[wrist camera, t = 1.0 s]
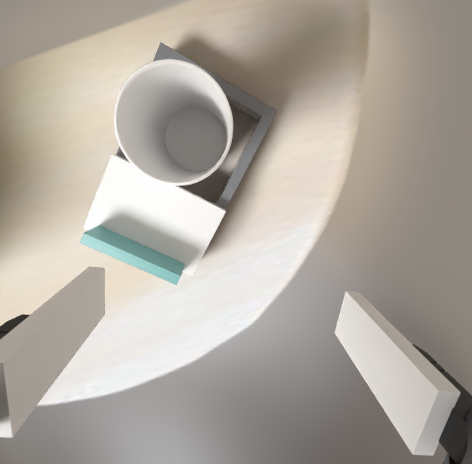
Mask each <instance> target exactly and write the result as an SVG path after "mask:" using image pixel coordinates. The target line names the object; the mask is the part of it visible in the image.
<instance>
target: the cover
mask: <svg viewBox="0 0 472 464" xmlns="http://www.w3.org/2000/svg"><path fill="white" fill-rule="evenodd" d="M225 212H226V210H225V209H223V208H221V207H219V206H217V205H215V204H213V203H211V202H209V201H207V200H205V199H203V198H201V197H199V196H197V195H195V194H194V193H192V192H190V191H188V190H186V189H184V188H182V187H180V186H178V185H167V184H163V183H159V182H156V181H154V180H152V179H150V178H148V177H146V176H145V175H143V174H142V173H141V172H139V171H138V170H137V169H136V168H135V167H134V166H133V165H132V164H131V163H130V162H129V161H128V160H126V159H124V158H122V157H120V156H118V155H116V154H112V155H111V158H110V160H109V163H108V165H107V168H106V170H105V173H104V175H103V178H102V181H101V183H100V186H99V188H98V191H97V193H96V196H95V198H94V201H93V204H92V206H91V209H90V211H89V214H88V216H87V219H86V222H85V224H84V227H83V228H84V229H86V230H88V231H87V232H85V233H84V234H83V236H82V239H81V242H80V243H81V244H84V245H86V246H88V247H91V248H93V249H95V250H97V251H100V252H102V253H104V254H107V255H109V256H111V257H114V258H116V259H118V260H120V261H123V262H125V263H127V264H130V265H132V266H134V267H137V268H139V269H141V270H143V271H146V272H148V273H150V274H153V275H155V276H157V277H159V278H162V279H164V280H166V281H169V282H171V283H173V284H177V282H178V280H179V279H180V277H181V274H182V273H185V274H187V275H189V276H191V277H192V276H193V274H194V272H195V270H196V268H197V266H198V264H199V262H200V260H201V258H202V257H203V255H204V253H205V251H206V249H207V247H208V245H209V243H210V241H211V239H212V237H213V235H214V233H215V231H216V230H217V228H218V226H219V224H220V222H221V220H222V218H223V216H224V214H225Z"/></svg>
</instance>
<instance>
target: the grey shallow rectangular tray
mask: <svg viewBox="0 0 472 464" xmlns="http://www.w3.org/2000/svg"><path fill="white" fill-rule="evenodd" d="M163 59H176V60H182V61H186V62H189V63H191V64H194V65H196V66H198V67H200V68H201V69H203V70H204V71H205V72H207V73H208V74H209V75H210V76H211V77H212V78H213V79H214V80H215V81H216V82H217V83H218V84H219V86H220V87H221V89H222V90H223V92H224V94H225V95H226V98H227V100H228V102H229V104H231V105H233V106H235V107H236V108H238V109H240V110H241V111H243V112H245V113H247V114H248V115H250V116H252V117H254V118H255V119H257V120H258V121H257V123H256V125H255V127H254V129H253V131H252V133H251V135H250V137H249V139H248V141H247V143H246V145H245V147H244V149H243V151H242V153H241V155H240V157H239V159H238V161H237V163H236V165H235V167H234V169H233V171H232V173H231V175H230V177H229V179H228V181H227V183H226V185H225V187H224V189H223V191H222V193H221V195H220V197H219V199H218V201H217V203H216V205H217V206H219V207H221V208H223V209H225V210H226V208H227V206H228V204H229V202H230V200H231V198H232V196H233V194H234V192H235V191H236V189H237V187H238V185H239V183H240V181H241V179H242V177H243V175H244V173H245V171H246V169H247V167H248V165H249V163H250V162H251V160H252V158H253V156H254V154H255V152H256V150H257V148H258V146H259V144H260V142H261V140H262V138H263V136H264V135H265V133H266V131H267V129H268V127H269V125H270V123H271V121H272V119H273V117H274V115H275V113H276V110H274V109H272V108H271V107H269V106H267V105H266V104H264V103H262V102H261V101H259V100H257V99H256V98H254V97H252V96H251V95H249V94H247V93H245V92H244V91H242V90H240V89H239V88H237V87H235V86H234V85H232V84H230V83H229V82H227V81H225V80H224V79H222V78H220V77H219V76H217V75H215V74H213V73H212V72H210V71H208V70H207V69H205V68H203V67H202V66H200V65H198V64H197V63H195V62H193V61H192V60H190V59H188V58H187V57H185V56H183V55H181V54H180V53H178V52H176V51H175V50H173V49H171V48H170V47H168V46H166V45H165V44H163V43H160V45H159V48H158V50H157V53H156V55H155V58H154V60H153V61H157V60H163ZM116 155H118V156H120V157H122V158H124V159H126V160H128V159H127V158H126V156H125V155H124V153H123V151H122V150H121V147H119V149H118V152H117V154H116Z"/></svg>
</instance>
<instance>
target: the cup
mask: <svg viewBox="0 0 472 464" xmlns="http://www.w3.org/2000/svg"><path fill="white" fill-rule="evenodd" d="M114 128H115V133H116V137H117V140H118V143H119V145H120V147H121V150H122V151H123V153H124V155H125V156H126V158H127V159H128V161H129V162H130V163H131V164H132V165H133V166H134V167H135V168H136V169H137V170H138V171H139V172H141V173H142V174H143V175H145V176H146V177H148V178H150V179H152V180H154V181H156V182H159V183H163V184H167V185H178V186H180V185H189V184H193V183H196V182H199V181H201V180H203V179H205V178H207V177H208V176H210V175H211V174H212V173H213V172H215V171H216V170H217V169H218V167H219V166H220V165H221V164H222V162H223V161H224V159H225V158H226V156H227V154H228V151H229V149H230V146H231V142H232V138H233V117H232V112H231V108H230V105H229V102H228V100H227V98H226V95H225V94H224V92H223V90H222V89H221V87H220V86H219V84H218V83H217V82H216V81H215V80H214V79H213V78H212V77H211V76H210V75H209V74H208V73H207V72H205V71H204V70H203V69H201V68H200V67H198V66H196V65H194V64H191V63H189V62H186V61H182V60H176V59H163V60H157V61H153V62H150V63H148V64H146V65H144V66H142V67H140V68H139V69H137V70H136V71H135V72H134V73H133V74H131V75H130V77H129V78H128V79H127V80H126V81H125V83H124V84H123V86H122V88H121V89H120V92H119V94H118V96H117V100H116V103H115V108H114Z"/></svg>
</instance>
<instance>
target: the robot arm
mask: <svg viewBox="0 0 472 464" xmlns="http://www.w3.org/2000/svg"><path fill="white" fill-rule="evenodd" d="M104 315H105V268H98V267H88V268H87V269H86V270H85V271H83V272H82V273H81V274H80V275H79V276H77V277H76V278H75V279H74V280H72V281H71V282H70V283H69V284H68V285H66V286H65V287H64V288H63V289H61V290H60V291H59V292H58V293H57V294H55V295H54V296H53V297H52V298H50V299H49V300H48V301H47V302H46V303H44V304H43V305H42V306H41V307H39V308H38V309H37V310H36V311H35V312H33V313H32V314H31V315H23V314H22V315H20V316H18V317H16V318H14V319H11V320H9V321H7V322H6V323H4V324H3V325H2V326H0V437H13V436H14V435H15V433H16V432H17V431H18V429H19V428H20V427H21V425H22V424H23V423H24V421H25V420H26V419H27V417H28V416H29V415H30V413H31V412H32V411H33V409H34V408H35V407H36V405H37V404H38V403H39V401H40V400H41V399H42V397H43V396H44V395H45V393H46V392H47V391H48V389H49V388H50V387H51V385H52V384H53V383H54V381H55V380H56V379H57V377H58V376H59V375H60V373H61V372H62V371H63V369H64V368H65V367H66V365H67V364H68V363H69V361H70V360H71V359H72V357H73V356H74V355H75V353H76V352H77V351H78V349H79V348H80V347H81V345H82V344H83V343H84V341H85V340H86V339H87V337H88V336H89V335H90V333H91V332H92V331H93V329H94V328H95V327H96V325H97V324H98V323H99V321H100V320H101V319H102V317H103V316H104ZM335 334H336V336H337V337H338V339H339V340H340V342H341V343H342V345H343V347H344V348H345V350H346V351H347V353H348V354H349V356H350V358H351V359H352V361H353V362H354V364H355V365H356V367H357V368H358V370H359V371H360V373H361V374H362V376H363V378H364V379H365V381H366V382H367V384H368V385H369V387H370V389H371V390H372V392H373V393H374V395H375V396H376V398H377V400H378V401H379V403H380V404H381V406H382V407H383V409H384V411H385V412H386V414H387V415H388V417H389V418H390V420H391V421H392V423H393V425H394V426H395V428H396V429H397V431H398V432H399V434H400V435H401V437H402V438H403V440H404V442H405V443H406V445H407V446H408V448H409V449H410V451H411V453H412V454H413V455H434V453H435V450H436V448H437V446H438V443H439V442H440V443H441V445H442V446H443V447H444V449H445V450H446V451H447V452H448V453H447V455H446V458H445V460H444V462H443V464H472V396H471V395H470V394H469V393H468V392H467V391H466V390H465V389H464V388H463V387H462V386H461V385H460V384H459V383H458V382H457V381H456V380H455V379H454V378H453V377H451V376H450V375H449V374H448V373H447V372H445V370H444V369H443V368H442V367H441V366H440V365H439V364H437V362H436V361H435V360H434V359H433V358H432V357H431V356H430V355H428V354H427V353H426V352H425V351H423V350H422V349H420V348H419V347H417V346H415V345H413V344H411V343H410V342H409V341H408V340H407V339H406V338H405V337H404V336H403V335H402V334H401V333H400V332H399V331H398V330H397V329H396V328H395V327H394V326H393V325H392V324H391V323H390V322H388V321H387V319H385V317H383V316H382V315H381V314H380V313H379V312H378V311H377V310H376V309H375V308H374V307H373V306H372V305H371V304H370V303H369V302H368V301H367V300H366V299H365V298H364V297H363V296H362V295H361V294H360V293H359V292H351V291H346V292H345V296H344V300H343V303H342V307H341V311H340V315H339V319H338V322H337V326H336V330H335Z"/></svg>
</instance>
